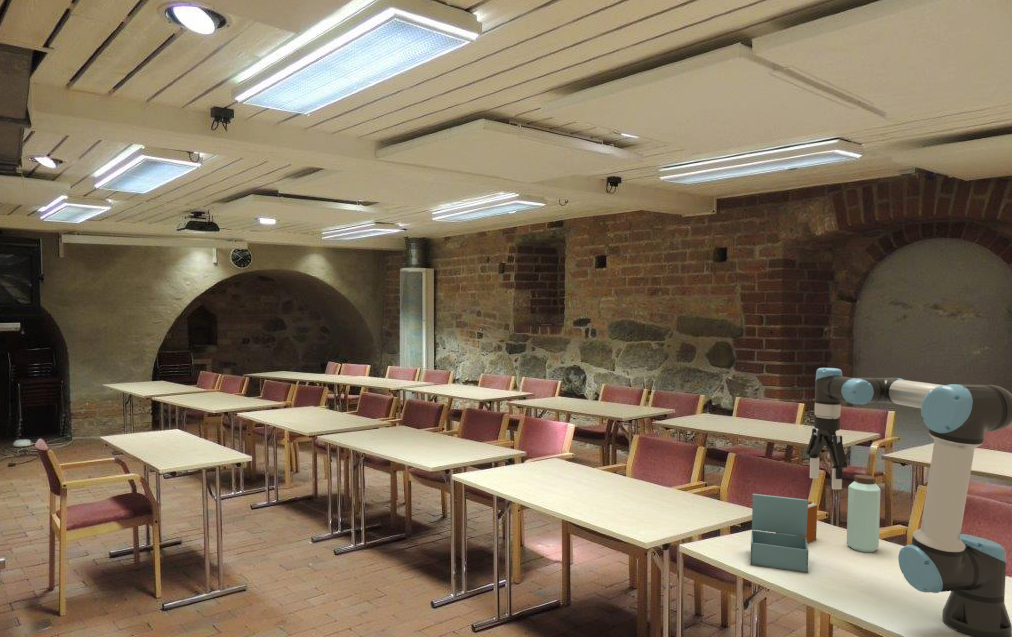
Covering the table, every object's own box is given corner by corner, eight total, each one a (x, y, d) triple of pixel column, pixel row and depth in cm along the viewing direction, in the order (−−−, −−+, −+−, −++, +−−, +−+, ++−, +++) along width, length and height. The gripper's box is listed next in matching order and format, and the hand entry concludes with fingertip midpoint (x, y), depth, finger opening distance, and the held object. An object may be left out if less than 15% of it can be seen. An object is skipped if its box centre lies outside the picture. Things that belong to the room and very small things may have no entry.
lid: (808, 500, 227) (808, 499, 228) (752, 494, 233) (752, 493, 234) (806, 536, 232) (806, 535, 233) (751, 529, 238) (751, 528, 238)
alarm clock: (795, 533, 258) (796, 496, 258) (818, 539, 252) (819, 502, 252) (774, 541, 249) (775, 503, 249) (797, 547, 242) (798, 508, 242)
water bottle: (839, 545, 246) (842, 474, 245) (859, 542, 250) (861, 472, 249) (865, 555, 237) (867, 481, 236) (885, 551, 241) (887, 478, 240)
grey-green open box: (807, 572, 219) (808, 550, 219) (750, 564, 225) (750, 542, 225) (805, 558, 232) (806, 537, 232) (751, 550, 238) (751, 530, 238)
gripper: (861, 423, 210) (858, 494, 210) (818, 410, 235) (816, 473, 235) (837, 423, 209) (834, 493, 210) (796, 410, 234) (794, 473, 235)
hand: (825, 483), depth 222 cm, fingers open, 13 cm apart
